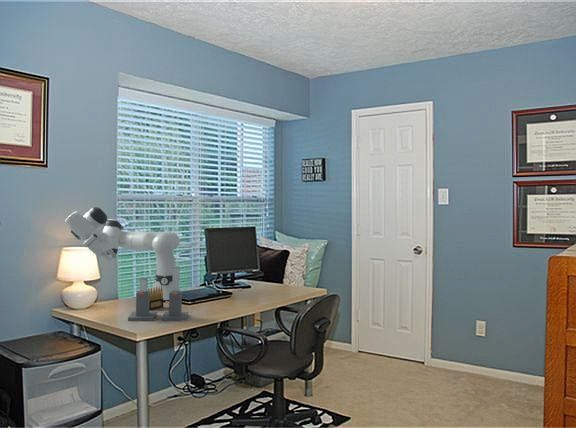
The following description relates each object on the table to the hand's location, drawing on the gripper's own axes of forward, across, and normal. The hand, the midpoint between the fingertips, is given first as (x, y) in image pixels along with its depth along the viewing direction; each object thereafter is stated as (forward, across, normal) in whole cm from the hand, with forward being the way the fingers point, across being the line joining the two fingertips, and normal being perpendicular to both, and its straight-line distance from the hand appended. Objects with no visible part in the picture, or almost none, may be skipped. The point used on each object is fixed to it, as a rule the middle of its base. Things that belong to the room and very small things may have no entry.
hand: (113, 258), depth 250 cm
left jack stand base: (+32, 0, -10) cm, 33 cm away
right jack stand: (+43, 0, +1) cm, 43 cm away
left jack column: (+29, 0, -8) cm, 30 cm away
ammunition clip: (+34, -20, -8) cm, 40 cm away
